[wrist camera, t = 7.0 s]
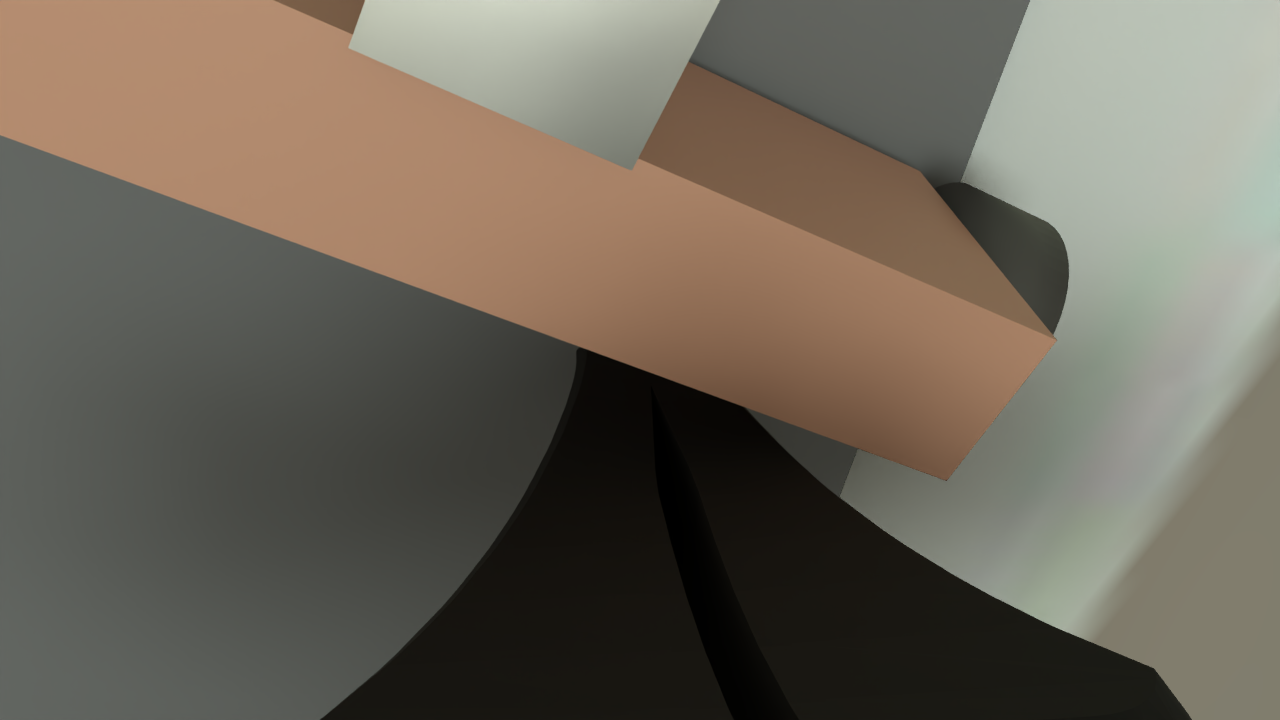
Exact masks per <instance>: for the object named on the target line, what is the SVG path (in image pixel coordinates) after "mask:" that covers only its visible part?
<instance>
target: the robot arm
mask: <svg viewBox="0 0 1280 720" xmlns="http://www.w3.org/2000/svg"><path fill="white" fill-rule="evenodd" d="M320 720H1192V719H1191V718H1190V716H1189V715H1188V713H1187V712H1186V710H1185V709H1184V708H1183V706H1182V705H1181V704H1180V702H1179V701H1178V700H1177V698H1176V697H1175V696H1174V694H1173V693H1172V692H1171V690H1170V689H1169V688H1168V686H1167V685H1166V684H1165V682H1164V681H1163V680H1162V679H1161V677H1160V676H1159V675H1158V673H1157V672H1156V671H1155V669H1154V668H1151V667H1149V666H1147V665H1144V664H1142V663H1140V662H1137V661H1135V660H1132V659H1130V658H1127V657H1125V656H1123V655H1120V654H1118V653H1115V652H1113V651H1111V650H1108V649H1106V648H1103V647H1101V646H1098V645H1096V644H1094V643H1091V642H1089V641H1087V640H1084V639H1082V638H1079V637H1077V636H1074V635H1072V634H1070V633H1067V632H1065V631H1062V630H1060V629H1058V628H1055V627H1053V626H1051V625H1049V624H1047V623H1045V622H1042V621H1040V620H1038V619H1036V618H1034V617H1032V616H1030V615H1028V614H1026V613H1024V612H1022V611H1020V610H1018V609H1016V608H1014V607H1012V606H1010V605H1008V604H1006V603H1004V602H1002V601H1000V600H998V599H996V598H994V597H992V596H990V595H989V594H987V593H985V592H983V591H981V590H980V589H978V588H976V587H974V586H972V585H970V584H969V583H967V582H965V581H963V580H961V579H960V578H958V577H956V576H954V575H953V574H951V573H949V572H948V571H946V570H944V569H943V568H941V567H940V566H938V565H936V564H935V563H933V562H931V561H930V560H928V559H927V558H925V557H923V556H922V555H920V554H918V553H917V552H915V551H914V550H912V549H910V548H909V547H907V546H906V545H904V544H903V543H901V542H900V541H898V540H897V539H895V538H894V537H892V536H891V535H889V534H888V533H886V532H885V531H883V530H882V529H881V528H879V527H878V526H876V525H875V524H874V523H872V522H871V521H870V520H868V519H867V518H866V517H864V516H863V515H862V514H860V513H859V512H858V511H856V510H855V509H854V508H852V507H851V506H850V505H848V504H847V503H846V502H844V501H843V500H842V499H840V498H839V497H838V496H837V495H836V494H834V493H833V492H832V491H831V490H829V489H828V488H827V487H826V486H825V485H823V484H822V483H821V482H820V481H819V480H818V479H816V478H815V477H814V476H813V475H812V474H811V473H810V472H809V471H808V470H807V469H805V468H804V467H803V466H802V465H801V464H800V463H799V462H798V461H797V460H796V459H795V458H794V457H793V456H792V455H791V454H789V453H788V452H787V451H786V450H785V449H784V448H783V447H782V446H781V445H780V444H779V443H778V442H777V441H776V440H775V439H774V437H773V436H772V435H771V434H770V433H769V432H768V431H767V430H766V429H765V428H764V427H763V426H762V425H761V424H760V423H759V422H758V421H757V420H756V419H755V418H754V416H753V415H752V414H751V413H750V412H749V411H748V410H747V409H746V408H745V407H743V406H740V405H738V404H735V403H732V402H729V401H727V400H724V399H721V398H718V397H716V396H713V395H710V394H708V393H705V392H702V391H699V390H697V389H694V388H691V387H688V386H686V385H683V384H680V383H677V382H675V381H672V380H669V379H666V378H664V377H661V376H658V375H655V374H653V373H650V372H647V371H645V370H642V369H639V368H636V367H634V366H631V365H628V364H625V363H623V362H620V361H617V360H614V359H612V358H609V357H606V356H603V355H601V354H598V353H595V352H593V351H590V350H587V349H584V348H582V347H580V348H578V349H577V350H576V369H575V375H574V379H573V383H572V387H571V390H570V393H569V397H568V400H567V403H566V406H565V409H564V411H563V414H562V416H561V419H560V421H559V423H558V426H557V428H556V431H555V433H554V436H553V438H552V441H551V443H550V445H549V447H548V450H547V452H546V454H545V455H544V457H543V459H542V461H541V463H540V465H539V467H538V469H537V471H536V473H535V475H534V477H533V479H532V481H531V482H530V484H529V486H528V488H527V490H526V492H525V494H524V495H523V497H522V499H521V500H520V502H519V504H518V505H517V507H516V509H515V510H514V512H513V514H512V515H511V517H510V518H509V520H508V521H507V523H506V524H505V526H504V527H503V529H502V530H501V532H500V533H499V535H498V536H497V538H496V539H495V541H494V542H493V544H492V545H491V546H490V548H489V549H488V550H487V552H486V553H485V554H484V556H483V557H482V558H481V560H480V561H479V562H478V563H477V565H476V566H475V567H474V569H473V570H472V571H471V572H470V574H469V575H468V576H467V578H466V579H465V580H464V582H463V583H462V584H461V585H460V586H459V588H458V589H457V590H456V591H455V592H454V594H453V595H452V596H451V597H450V598H449V599H448V600H447V602H446V603H445V604H444V605H443V606H442V607H441V608H440V609H439V610H438V611H437V612H436V613H435V614H434V616H433V617H432V618H431V619H430V620H429V621H428V622H427V623H426V624H425V625H424V626H423V627H422V628H421V629H420V630H419V631H418V632H417V633H416V634H415V635H414V636H413V637H412V638H411V639H410V640H409V641H408V642H407V643H406V644H405V645H404V646H403V647H402V649H401V650H400V651H399V652H398V653H397V654H396V655H395V656H394V657H392V658H391V659H390V660H389V661H388V662H387V663H386V664H385V665H384V666H383V667H382V668H381V669H380V670H378V671H377V672H376V673H375V674H374V675H373V676H371V677H370V678H369V679H368V680H367V681H365V682H364V683H363V684H362V685H361V686H359V687H358V688H357V689H356V690H355V691H354V692H352V693H351V694H350V695H349V696H348V697H346V698H345V699H344V700H343V701H342V702H340V703H339V704H338V705H337V706H336V707H335V708H333V709H332V710H331V711H330V712H329V713H327V714H326V715H325V716H324V717H323V718H321V719H320Z"/></svg>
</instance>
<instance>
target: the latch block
mask: <svg viewBox="0 0 1280 720" xmlns="http://www.w3.org/2000/svg"><path fill="white" fill-rule="evenodd" d="M719 1H720V0H365V2H364V5H363V8H362V11H361V14H360V16H359V19H358V22H357V25H356V27H355V30H354V33H353V36H352V39H351V41H350V44H349V47H348V48H349V49H352V50H354V51H356V52H359V53H361V54H363V55H365V56H368V57H370V58H372V59H375V60H377V61H379V62H382V63H384V64H386V65H389V66H391V67H393V68H395V69H398V70H400V71H402V72H405V73H407V74H409V75H412V76H414V77H416V78H419V79H421V80H423V81H425V82H428V83H430V84H432V85H435V86H437V87H439V88H442V89H444V90H446V91H449V92H451V93H453V94H455V95H458V96H460V97H462V98H465V99H467V100H469V101H472V102H474V103H476V104H479V105H481V106H483V107H485V108H488V109H490V110H492V111H495V112H497V113H499V114H502V115H504V116H506V117H509V118H511V119H513V120H515V121H518V122H520V123H522V124H525V125H527V126H529V127H532V128H534V129H536V130H539V131H541V132H543V133H545V134H548V135H550V136H552V137H555V138H557V139H559V140H562V141H564V142H566V143H569V144H571V145H573V146H575V147H578V148H580V149H582V150H585V151H587V152H589V153H592V154H594V155H596V156H598V157H601V158H603V159H605V160H608V161H610V162H612V163H615V164H617V165H619V166H622V167H624V168H626V169H628V170H631V171H632V169H633V167H634V166H635V164H636V162H637V160H638V158H639V156H640V154H641V152H642V150H643V148H644V146H645V144H646V142H647V140H648V138H649V137H650V135H651V133H652V131H653V129H654V127H655V125H656V123H657V121H658V119H659V117H660V115H661V113H662V111H663V109H664V108H665V106H666V104H667V102H668V100H669V98H670V96H671V94H672V92H673V90H674V88H675V86H676V84H677V82H678V81H679V79H680V77H681V75H682V73H683V71H684V69H685V67H686V65H687V63H688V61H689V59H690V57H691V55H692V53H693V52H694V50H695V48H696V46H697V44H698V42H699V40H700V38H701V36H702V34H703V32H704V30H705V28H706V26H707V24H708V23H709V21H710V19H711V17H712V15H713V13H714V11H715V9H716V7H717V5H718V3H719Z"/></svg>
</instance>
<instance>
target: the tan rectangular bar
mask: <svg viewBox="0 0 1280 720" xmlns="http://www.w3.org/2000/svg"><path fill="white" fill-rule="evenodd" d="M364 2H365V0H0V135H1V136H4V137H7V138H10V139H12V140H15V141H18V142H20V143H23V144H26V145H29V146H31V147H34V148H37V149H40V150H42V151H45V152H48V153H51V154H53V155H56V156H59V157H62V158H64V159H67V160H70V161H72V162H75V163H78V164H81V165H83V166H86V167H89V168H92V169H94V170H97V171H100V172H103V173H105V174H108V175H111V176H114V177H116V178H119V179H122V180H124V181H127V182H130V183H133V184H135V185H138V186H141V187H144V188H146V189H149V190H152V191H155V192H157V193H160V194H163V195H166V196H168V197H171V198H174V199H177V200H179V201H182V202H185V203H187V204H190V205H193V206H196V207H198V208H201V209H204V210H207V211H209V212H212V213H215V214H218V215H220V216H223V217H226V218H229V219H231V220H234V221H237V222H239V223H242V224H245V225H248V226H250V227H253V228H256V229H259V230H261V231H264V232H267V233H270V234H272V235H275V236H278V237H281V238H283V239H286V240H289V241H291V242H294V243H297V244H300V245H302V246H305V247H308V248H311V249H313V250H316V251H319V252H322V253H324V254H327V255H330V256H333V257H335V258H338V259H341V260H343V261H346V262H349V263H352V264H354V265H357V266H360V267H363V268H365V269H368V270H371V271H374V272H376V273H379V274H382V275H385V276H387V277H390V278H393V279H395V280H398V281H401V282H404V283H406V284H409V285H412V286H415V287H417V288H420V289H423V290H426V291H428V292H431V293H434V294H437V295H439V296H442V297H445V298H447V299H450V300H453V301H456V302H458V303H461V304H464V305H467V306H469V307H472V308H475V309H478V310H480V311H483V312H486V313H489V314H491V315H494V316H497V317H499V318H502V319H505V320H508V321H510V322H513V323H516V324H519V325H521V326H524V327H527V328H530V329H532V330H535V331H538V332H541V333H543V334H546V335H549V336H551V337H554V338H557V339H560V340H562V341H565V342H568V343H571V344H573V345H576V346H579V347H582V348H584V349H587V350H590V351H593V352H595V353H598V354H601V355H603V356H606V357H609V358H612V359H614V360H617V361H620V362H623V363H625V364H628V365H631V366H634V367H636V368H639V369H642V370H645V371H647V372H650V373H653V374H655V375H658V376H661V377H664V378H666V379H669V380H672V381H675V382H677V383H680V384H683V385H686V386H688V387H691V388H694V389H697V390H699V391H702V392H705V393H708V394H710V395H713V396H716V397H718V398H721V399H724V400H727V401H729V402H732V403H735V404H738V405H740V406H743V407H746V408H749V409H751V410H754V411H757V412H760V413H762V414H765V415H768V416H770V417H773V418H776V419H779V420H781V421H784V422H787V423H790V424H792V425H795V426H798V427H801V428H803V429H806V430H809V431H812V432H814V433H817V434H820V435H822V436H825V437H828V438H831V439H833V440H836V441H839V442H842V443H844V444H847V445H850V446H853V447H855V448H858V449H861V450H864V451H866V452H869V453H872V454H874V455H877V456H880V457H883V458H885V459H888V460H891V461H894V462H896V463H899V464H902V465H905V466H907V467H910V468H913V469H916V470H918V471H921V472H924V473H926V474H929V475H932V476H935V477H937V478H940V479H943V480H946V481H947V480H948V478H949V477H950V476H951V475H952V473H953V472H954V471H955V469H956V468H957V467H958V466H959V464H960V463H961V462H962V461H963V459H964V458H965V457H966V455H967V454H968V453H969V452H970V450H971V449H972V448H973V447H974V445H975V444H976V443H977V441H978V440H979V439H980V438H981V436H982V435H983V434H984V433H985V431H986V430H987V429H988V427H989V426H990V425H991V424H992V422H993V421H994V420H995V419H996V417H997V416H998V415H999V413H1000V412H1001V411H1002V410H1003V408H1004V407H1005V406H1006V405H1007V403H1008V402H1009V401H1010V399H1011V398H1012V397H1013V396H1014V394H1015V393H1016V392H1017V391H1018V389H1019V388H1020V387H1021V385H1022V384H1023V383H1024V382H1025V380H1026V379H1027V378H1028V377H1029V375H1030V374H1031V373H1032V371H1033V370H1034V369H1035V368H1036V366H1037V365H1038V364H1039V363H1040V361H1041V360H1042V359H1043V357H1044V356H1045V355H1046V354H1047V352H1048V351H1049V350H1050V349H1051V347H1052V346H1053V345H1054V343H1055V342H1056V341H1057V340H1056V338H1055V337H1054V336H1053V334H1054V331H1055V329H1056V327H1057V324H1058V322H1059V319H1060V317H1061V314H1062V310H1063V307H1064V303H1065V299H1066V294H1067V289H1068V279H1069V263H1068V256H1067V251H1066V248H1065V245H1064V242H1063V240H1062V238H1061V236H1060V234H1059V233H1058V232H1057V230H1056V229H1055V228H1054V227H1053V226H1052V225H1050V224H1049V223H1048V222H1046V221H1044V220H1042V219H1039V218H1037V217H1035V216H1033V215H1031V214H1029V213H1027V212H1025V211H1023V210H1021V209H1019V208H1016V207H1014V206H1012V205H1010V204H1008V203H1006V202H1004V201H1002V200H1000V199H998V198H995V197H993V196H991V195H989V194H987V193H985V192H983V191H981V190H979V189H977V188H974V187H972V186H970V185H968V184H965V183H960V182H954V183H948V184H944V185H941V186H939V187H936V188H933V187H932V186H931V184H930V183H929V182H928V181H927V179H926V178H925V177H924V176H923V174H922V173H921V172H920V171H918V170H916V169H914V168H912V167H910V166H908V165H906V164H904V163H902V162H899V161H897V160H895V159H893V158H891V157H889V156H887V155H885V154H883V153H880V152H878V151H876V150H874V149H872V148H870V147H868V146H866V145H864V144H861V143H859V142H857V141H855V140H853V139H851V138H849V137H847V136H845V135H842V134H840V133H838V132H836V131H834V130H832V129H830V128H828V127H826V126H823V125H821V124H819V123H817V122H815V121H813V120H811V119H809V118H806V117H804V116H802V115H800V114H798V113H796V112H794V111H792V110H790V109H787V108H785V107H783V106H781V105H779V104H777V103H775V102H773V101H771V100H768V99H766V98H764V97H762V96H760V95H758V94H756V93H754V92H752V91H749V90H747V89H745V88H743V87H741V86H739V85H737V84H735V83H733V82H730V81H728V80H726V79H724V78H722V77H720V76H718V75H716V74H714V73H711V72H709V71H707V70H705V69H703V68H701V67H699V66H697V65H695V64H692V63H690V62H688V63H687V65H686V67H685V69H684V71H683V73H682V75H681V77H680V79H679V81H678V82H677V84H676V86H675V88H674V90H673V92H672V94H671V96H670V98H669V100H668V102H667V104H666V106H665V108H664V109H663V111H662V113H661V115H660V117H659V119H658V121H657V123H656V125H655V127H654V129H653V131H652V133H651V135H650V137H649V138H648V140H647V142H646V144H645V146H644V148H643V150H642V152H641V154H640V156H639V158H638V160H637V162H636V164H635V166H634V167H633V169H632V171H631V170H628V169H626V168H624V167H622V166H619V165H617V164H615V163H612V162H610V161H608V160H605V159H603V158H601V157H598V156H596V155H594V154H592V153H589V152H587V151H585V150H582V149H580V148H578V147H575V146H573V145H571V144H569V143H566V142H564V141H562V140H559V139H557V138H555V137H552V136H550V135H548V134H545V133H543V132H541V131H539V130H536V129H534V128H532V127H529V126H527V125H525V124H522V123H520V122H518V121H515V120H513V119H511V118H509V117H506V116H504V115H502V114H499V113H497V112H495V111H492V110H490V109H488V108H485V107H483V106H481V105H479V104H476V103H474V102H472V101H469V100H467V99H465V98H462V97H460V96H458V95H455V94H453V93H451V92H449V91H446V90H444V89H442V88H439V87H437V86H435V85H432V84H430V83H428V82H425V81H423V80H421V79H419V78H416V77H414V76H412V75H409V74H407V73H405V72H402V71H400V70H398V69H395V68H393V67H391V66H389V65H386V64H384V63H382V62H379V61H377V60H375V59H372V58H370V57H368V56H365V55H363V54H361V53H359V52H356V51H354V50H352V49H349V48H348V47H349V44H350V41H351V39H352V36H353V33H354V30H355V27H356V25H357V22H358V19H359V16H360V14H361V11H362V8H363V5H364Z"/></svg>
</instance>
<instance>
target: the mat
mask: <svg viewBox="0 0 1280 720" xmlns="http://www.w3.org/2000/svg"><path fill="white" fill-rule="evenodd" d="M1029 2H1030V0H720V1H719V3H718V5H717V7H716V9H715V11H714V13H713V15H712V17H711V19H710V21H709V23H708V24H707V26H706V28H705V30H704V32H703V34H702V36H701V38H700V40H699V42H698V44H697V46H696V48H695V50H694V52H693V53H692V55H691V57H690V59H689V61H688V62H690V63H692V64H695V65H697V66H699V67H701V68H703V69H705V70H707V71H709V72H711V73H714V74H716V75H718V76H720V77H722V78H724V79H726V80H728V81H730V82H733V83H735V84H737V85H739V86H741V87H743V88H745V89H747V90H749V91H752V92H754V93H756V94H758V95H760V96H762V97H764V98H766V99H768V100H771V101H773V102H775V103H777V104H779V105H781V106H783V107H785V108H787V109H790V110H792V111H794V112H796V113H798V114H800V115H802V116H804V117H806V118H809V119H811V120H813V121H815V122H817V123H819V124H821V125H823V126H826V127H828V128H830V129H832V130H834V131H836V132H838V133H840V134H842V135H845V136H847V137H849V138H851V139H853V140H855V141H857V142H859V143H861V144H864V145H866V146H868V147H870V148H872V149H874V150H876V151H878V152H880V153H883V154H885V155H887V156H889V157H891V158H893V159H895V160H897V161H899V162H902V163H904V164H906V165H908V166H910V167H912V168H914V169H916V170H918V171H920V172H921V173H922V174H923V176H924V177H925V178H926V179H927V181H928V182H929V183H930V184H931V186H932V187H933V188H936V187H939V186H941V185H944V184H948V183H954V182H960V181H961V179H962V176H963V173H964V171H965V168H966V166H967V163H968V160H969V158H970V155H971V153H972V150H973V147H974V145H975V142H976V140H977V137H978V134H979V132H980V129H981V127H982V124H983V121H984V119H985V116H986V114H987V111H988V108H989V106H990V103H991V101H992V98H993V95H994V93H995V90H996V88H997V85H998V82H999V80H1000V77H1001V75H1002V72H1003V69H1004V67H1005V64H1006V62H1007V59H1008V56H1009V54H1010V51H1011V49H1012V46H1013V43H1014V41H1015V38H1016V36H1017V33H1018V30H1019V28H1020V25H1021V23H1022V20H1023V17H1024V15H1025V12H1026V10H1027V7H1028V4H1029ZM578 348H580V347H579V346H576V345H573V344H571V343H568V342H565V341H562V340H560V339H557V338H554V337H551V336H549V335H546V334H543V333H541V332H538V331H535V330H532V329H530V328H527V327H524V326H521V325H519V324H516V323H513V322H510V321H508V320H505V319H502V318H499V317H497V316H494V315H491V314H489V313H486V312H483V311H480V310H478V309H475V308H472V307H469V306H467V305H464V304H461V303H458V302H456V301H453V300H450V299H447V298H445V297H442V296H439V295H437V294H434V293H431V292H428V291H426V290H423V289H420V288H417V287H415V286H412V285H409V284H406V283H404V282H401V281H398V280H395V279H393V278H390V277H387V276H385V275H382V274H379V273H376V272H374V271H371V270H368V269H365V268H363V267H360V266H357V265H354V264H352V263H349V262H346V261H343V260H341V259H338V258H335V257H333V256H330V255H327V254H324V253H322V252H319V251H316V250H313V249H311V248H308V247H305V246H302V245H300V244H297V243H294V242H291V241H289V240H286V239H283V238H281V237H278V236H275V235H272V234H270V233H267V232H264V231H261V230H259V229H256V228H253V227H250V226H248V225H245V224H242V223H239V222H237V221H234V220H231V219H229V218H226V217H223V216H220V215H218V214H215V213H212V212H209V211H207V210H204V209H201V208H198V207H196V206H193V205H190V204H187V203H185V202H182V201H179V200H177V199H174V198H171V197H168V196H166V195H163V194H160V193H157V192H155V191H152V190H149V189H146V188H144V187H141V186H138V185H135V184H133V183H130V182H127V181H124V180H122V179H119V178H116V177H114V176H111V175H108V174H105V173H103V172H100V171H97V170H94V169H92V168H89V167H86V166H83V165H81V164H78V163H75V162H72V161H70V160H67V159H64V158H62V157H59V156H56V155H53V154H51V153H48V152H45V151H42V150H40V149H37V148H34V147H31V146H29V145H26V144H23V143H20V142H18V141H15V140H12V139H10V138H7V137H4V136H1V135H0V720H320V719H321V718H323V717H324V716H325V715H326V714H327V713H329V712H330V711H331V710H332V709H333V708H335V707H336V706H337V705H338V704H339V703H340V702H342V701H343V700H344V699H345V698H346V697H348V696H349V695H350V694H351V693H352V692H354V691H355V690H356V689H357V688H358V687H359V686H361V685H362V684H363V683H364V682H365V681H367V680H368V679H369V678H370V677H371V676H373V675H374V674H375V673H376V672H377V671H378V670H380V669H381V668H382V667H383V666H384V665H385V664H386V663H387V662H388V661H389V660H390V659H391V658H392V657H394V656H395V655H396V654H397V653H398V652H399V651H400V650H401V649H402V647H403V646H404V645H405V644H406V643H407V642H408V641H409V640H410V639H411V638H412V637H413V636H414V635H415V634H416V633H417V632H418V631H419V630H420V629H421V628H422V627H423V626H424V625H425V624H426V623H427V622H428V621H429V620H430V619H431V618H432V617H433V616H434V614H435V613H436V612H437V611H438V610H439V609H440V608H441V607H442V606H443V605H444V604H445V603H446V602H447V600H448V599H449V598H450V597H451V596H452V595H453V594H454V592H455V591H456V590H457V589H458V588H459V586H460V585H461V584H462V583H463V582H464V580H465V579H466V578H467V576H468V575H469V574H470V572H471V571H472V570H473V569H474V567H475V566H476V565H477V563H478V562H479V561H480V560H481V558H482V557H483V556H484V554H485V553H486V552H487V550H488V549H489V548H490V546H491V545H492V544H493V542H494V541H495V539H496V538H497V536H498V535H499V533H500V532H501V530H502V529H503V527H504V526H505V524H506V523H507V521H508V520H509V518H510V517H511V515H512V514H513V512H514V510H515V509H516V507H517V505H518V504H519V502H520V500H521V499H522V497H523V495H524V494H525V492H526V490H527V488H528V486H529V484H530V482H531V481H532V479H533V477H534V475H535V473H536V471H537V469H538V467H539V465H540V463H541V461H542V459H543V457H544V455H545V454H546V452H547V450H548V447H549V445H550V443H551V441H552V438H553V436H554V433H555V431H556V428H557V426H558V423H559V421H560V419H561V416H562V414H563V411H564V409H565V406H566V403H567V400H568V397H569V393H570V390H571V387H572V383H573V379H574V375H575V369H576V350H577V349H578ZM745 408H746V407H745ZM746 409H747V410H748V411H749V412H750V413H751V414H752V415H753V416H754V418H755V419H756V420H757V421H758V422H759V423H760V424H761V425H762V426H763V427H764V428H765V429H766V430H767V431H768V432H769V433H770V434H771V435H772V436H773V437H774V439H775V440H776V441H777V442H778V443H779V444H780V445H781V446H782V447H783V448H784V449H785V450H786V451H787V452H788V453H789V454H791V455H792V456H793V457H794V458H795V459H796V460H797V461H798V462H799V463H800V464H801V465H802V466H803V467H804V468H805V469H807V470H808V471H809V472H810V473H811V474H812V475H813V476H814V477H815V478H816V479H818V480H819V481H820V482H821V483H822V484H823V485H825V486H826V487H827V488H828V489H829V490H831V491H832V492H833V493H834V494H836V495H837V496H838V497H839V496H840V493H841V491H842V488H843V486H844V483H845V480H846V478H847V475H848V473H849V470H850V467H851V465H852V462H853V460H854V457H855V454H856V452H857V449H858V448H855V447H853V446H850V445H847V444H844V443H842V442H839V441H836V440H833V439H831V438H828V437H825V436H822V435H820V434H817V433H814V432H812V431H809V430H806V429H803V428H801V427H798V426H795V425H792V424H790V423H787V422H784V421H781V420H779V419H776V418H773V417H770V416H768V415H765V414H762V413H760V412H757V411H754V410H751V409H749V408H746Z"/></svg>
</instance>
